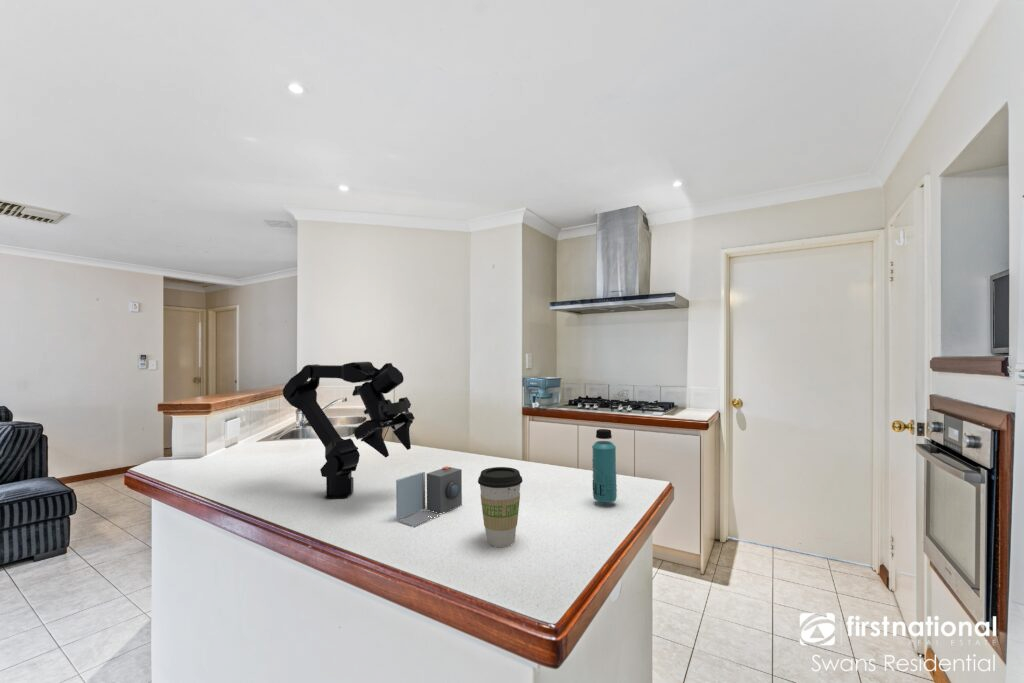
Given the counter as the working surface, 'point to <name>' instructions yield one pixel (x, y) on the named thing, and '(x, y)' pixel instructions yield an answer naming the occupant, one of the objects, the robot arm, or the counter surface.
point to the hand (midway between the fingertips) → (398, 452)
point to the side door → (410, 494)
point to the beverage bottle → (604, 468)
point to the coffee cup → (500, 504)
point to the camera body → (439, 494)
